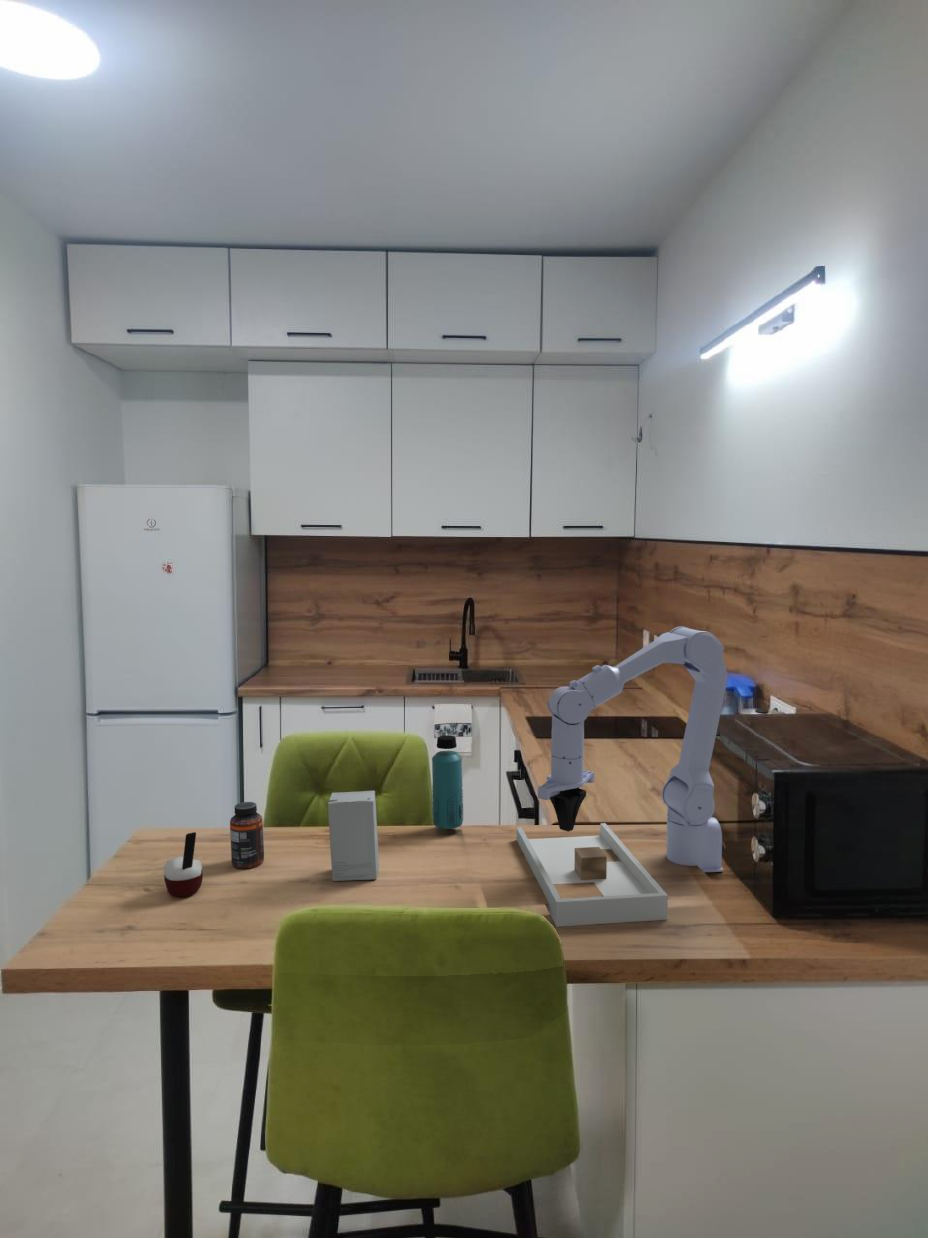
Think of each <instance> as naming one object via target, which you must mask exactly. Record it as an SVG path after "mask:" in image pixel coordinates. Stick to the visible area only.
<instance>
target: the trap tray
mask: <svg viewBox="0 0 928 1238" xmlns="http://www.w3.org/2000/svg"><path fill="white" fill-rule="evenodd" d="M599 826H600V827H599V828H600V829H599V830H600V834H599V835H590V836H589V835H585V836H584V835H583V836H566V837H564V836H563V837H548V838H547V837H545V838H528V836H527V834H526V832H525V831H524V829H523V827H522V826H521V827H520V826H519V827H516V842H517V843H518V846H519V848H520V850H521V851H522V854H523V855H524V857H525V860H526V861H527V864H528V866H529V867H530V869H531V871H532V873H533V875H534V878H535V879H536V881H537V883H538V884H539V887H540V888H541V891H542V892H543V895H544V897H545V899H546V900H547V902H548V903H544V904H545V906H546V910H548V913H549V915H550V917H551V919H552V921H553V923H554V925H555V927H556V928H558V927H559V928H560V927H573V926H575V927H576V926H589V925H590V926H591V925H601V924H602V925H603V924H605V925H606V924H623V923H636V922H648V921H649V922H651V921H652V922H653V921H663V920H664V921H666V920H668V903H669V902H668V899H669V895H668V894H667V893H666V891H665V890H664V889H663V888H662V887H661V886H660V884H659V883H658V882H657V881H656V880H655V879H654V878H653V876H652V875H651V874H650V873H649V872H648V871H647V870H646V868H645V867H644V866H643V865H642V864H641V863H640V861H639V860H638V859H637V858H636V857H635V856H634V854H633V853H632V852H631V851H630V850H629V849H628V848H627V846H626V845H625V844H624V843H623V842H622V840H620V838H619V837H618V836H617V834H616V833H614V831H613V830H612V829H611V828H610V827H609V826H608V824H607V823H605V822H603V823H600V825H599ZM586 847H600V849H601V850H602V851H603V850H610V851H612V852H613V854H614V855H615V856H616V857H617V858H618V859H619V860H617V861H607V874H606V879H595V880H581V879H580V878H579V876H578V874H577V873H576V871H575V870H574V864H575V848H586ZM586 883H594V885H595V886H596V887H597V890H599V892H600V894H601V895H602V896H590V897H589V896H588V897H587V896H586V897H574V898H571V897H570V898H561V896H560V894H559V892H558V891H557V888H556V886H555V885H566V884H586Z"/></svg>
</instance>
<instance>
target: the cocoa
mask: <svg viewBox="0 0 928 1238" xmlns="http://www.w3.org/2000/svg"><path fill="white" fill-rule="evenodd" d="M196 838H197V833H196V831H194V832H188V833H187V834H185V840H184V850H183V856H177V857H174V858H171V859H170V860H167V861H166V862H165V864H164V865H163V873H164V874H163V875H164V876H163V877H164V883H165V887H166V891H167V893H168V894H169V895H170V896H171V897H173V898H179V899H185V898H189V897H191V896H193V895H195V894H196V893H198V891H199V890H200V888H201V887H202V883H203V877H204V871H203V866H202V863H201V861H200V860H199V859H195V858H194V856H195V855H194V854H195V846H196V845H195V844H196Z"/></svg>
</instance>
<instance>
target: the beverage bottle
mask: <svg viewBox="0 0 928 1238" xmlns="http://www.w3.org/2000/svg"><path fill="white" fill-rule="evenodd" d="M457 744H458V743H457V738H456V736H454V735H439V736H437V739H436V748H438V749H440V751H437V752H436V753H435V754H434V755H433V756H432V757H431V763H432V767H431V768H432V769H431V770H432V784H431V786H432V787H431V791H432V801H431V803H432V807H431V810H432V811H431V812H432V815H431V816H432V823H433V825H434V827H436V828H439V829H443V830H445V829H446V830H447V829H448V830H449V829H456V828H459V827H461V826H462V824H463V823H464V789H463V779H464V778H463V770H462V769H463V766H462V765H463V764H462V761H463V757H462V756H461V754H459V752H457V751H455V750H450V749H455V748H456V749H457ZM441 749H442V750H441Z"/></svg>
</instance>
